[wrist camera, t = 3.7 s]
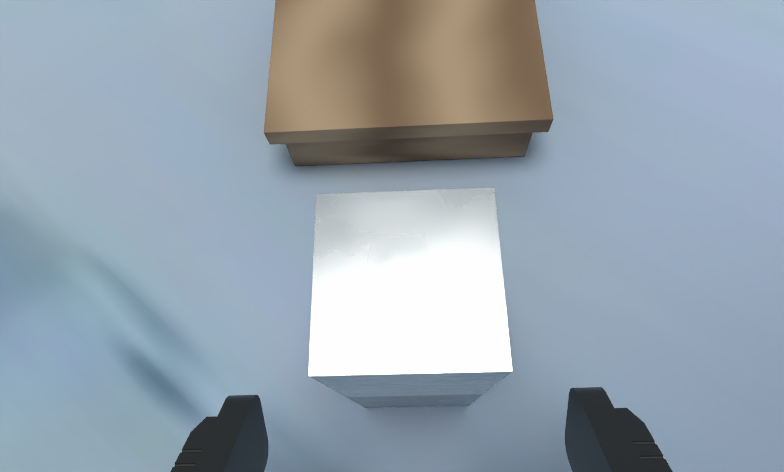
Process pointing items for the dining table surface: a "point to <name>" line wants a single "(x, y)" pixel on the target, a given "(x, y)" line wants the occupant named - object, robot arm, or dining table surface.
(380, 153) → the walnut stand
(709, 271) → the dining table surface
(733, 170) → the dining table surface
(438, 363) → the block
